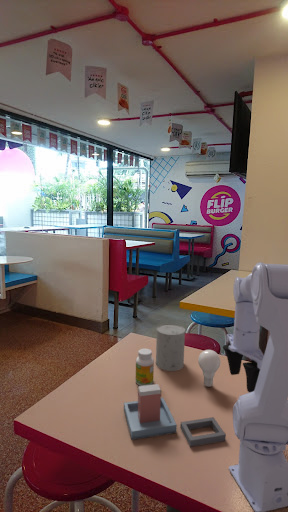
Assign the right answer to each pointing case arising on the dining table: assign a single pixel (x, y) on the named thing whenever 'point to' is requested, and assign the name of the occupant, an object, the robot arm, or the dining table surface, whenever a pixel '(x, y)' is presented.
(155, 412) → the red and grey block
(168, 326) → the speckled stone cylinder
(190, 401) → the dining table surface
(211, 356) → the lightbulb
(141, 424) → the parts tray
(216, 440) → the grey rectangular frame
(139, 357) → the supplement bottle
